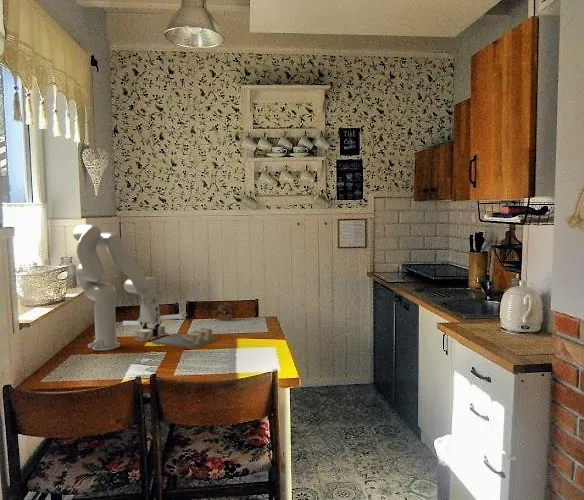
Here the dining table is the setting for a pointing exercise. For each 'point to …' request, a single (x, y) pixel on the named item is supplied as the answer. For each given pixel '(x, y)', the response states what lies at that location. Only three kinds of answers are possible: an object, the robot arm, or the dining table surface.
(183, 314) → the molding
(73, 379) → the dining table surface
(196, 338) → the fixed plank
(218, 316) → the wooden carving
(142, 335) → the ash plank
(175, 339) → the floor panel
